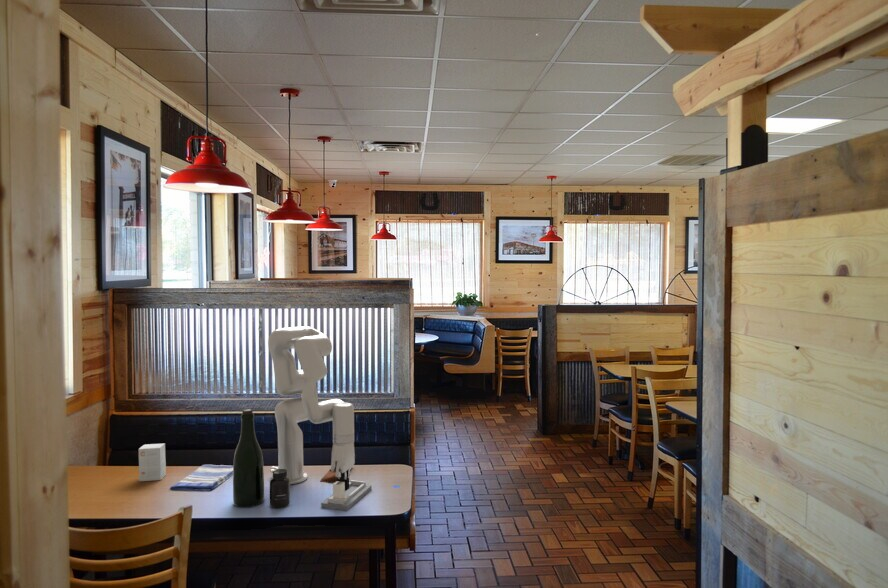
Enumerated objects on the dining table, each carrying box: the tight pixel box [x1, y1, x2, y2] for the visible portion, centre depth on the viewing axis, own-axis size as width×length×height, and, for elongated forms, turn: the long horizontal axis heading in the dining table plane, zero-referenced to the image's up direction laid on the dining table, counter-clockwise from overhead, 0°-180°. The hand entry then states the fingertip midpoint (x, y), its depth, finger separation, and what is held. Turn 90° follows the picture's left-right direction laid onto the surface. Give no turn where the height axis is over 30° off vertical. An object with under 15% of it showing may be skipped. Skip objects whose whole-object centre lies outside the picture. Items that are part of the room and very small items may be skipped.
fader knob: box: [332, 481, 345, 499], centre depth 195 cm, size 3×3×6 cm
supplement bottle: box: [269, 469, 291, 509], centre depth 195 cm, size 7×7×12 cm
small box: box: [137, 443, 167, 482], centre depth 222 cm, size 8×6×13 cm
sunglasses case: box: [319, 467, 339, 483], centre depth 225 cm, size 18×7×7 cm
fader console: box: [320, 479, 372, 511], centre depth 201 cm, size 20×10×3 cm, turn 163°
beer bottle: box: [232, 408, 265, 508], centre depth 198 cm, size 10×10×33 cm
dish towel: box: [169, 464, 233, 492], centre depth 221 cm, size 17×24×3 cm
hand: (344, 489), depth 199 cm, fingers closed
